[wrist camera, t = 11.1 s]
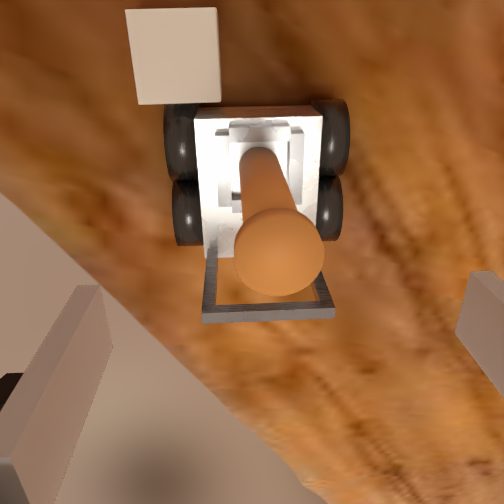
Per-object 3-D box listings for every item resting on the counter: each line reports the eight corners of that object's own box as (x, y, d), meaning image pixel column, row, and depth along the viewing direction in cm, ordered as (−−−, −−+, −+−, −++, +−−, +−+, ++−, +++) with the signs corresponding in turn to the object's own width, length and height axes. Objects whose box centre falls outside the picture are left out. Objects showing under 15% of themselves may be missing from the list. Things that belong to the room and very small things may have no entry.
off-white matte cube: (139, 12, 32) (124, 9, 27) (217, 10, 32) (215, 7, 28) (150, 95, 35) (138, 104, 30) (221, 93, 35) (220, 102, 30)
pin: (230, 140, 30) (232, 218, 17) (286, 138, 30) (327, 214, 17) (232, 193, 32) (235, 297, 19) (285, 191, 32) (321, 294, 19)
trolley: (169, 98, 35) (128, 143, 21) (336, 94, 35) (406, 135, 21) (182, 229, 40) (157, 333, 26) (326, 224, 41) (377, 323, 27)
